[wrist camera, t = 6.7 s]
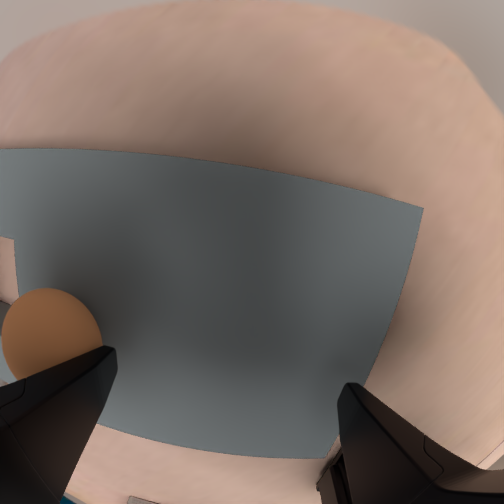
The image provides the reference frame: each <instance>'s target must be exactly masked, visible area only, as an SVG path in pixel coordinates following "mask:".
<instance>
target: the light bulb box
mask: <svg viewBox="0 0 504 504" xmlns="http://www.w3.org/2000/svg"><path fill="white" fill-rule="evenodd" d="M127 504H157V503H153V502H149V501H146V500H142V499H139V498H136V497H133V496H130V497H129V500H128V503H127Z"/></svg>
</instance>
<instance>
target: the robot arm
mask: <svg viewBox="0 0 504 504" xmlns="http://www.w3.org/2000/svg"><path fill="white" fill-rule="evenodd" d="M117 371H118V363H117V353H116V349H115V348H114V347H110V346H107V345H103V346H100V347H98V348H96V349H93V350H91V351H89V352H86V353H84V354H82V355H79V356H77V357H74V358H72V359H70V360H67V361H65V362H62V363H60V364H58V365H55V366H53V367H50V368H48V369H45V370H43V371H40V372H38V373H36V374H33V375H31V376H28V377H27V378H23V379H20V380H18V381H15V382H13V383H10V384H7V385H4V386H1V387H0V504H60V502H59V501H61V499H62V496H63V494H64V492H65V489H66V487H67V485H68V483H69V480H70V478H71V476H72V474H73V471H74V469H75V467H76V465H77V463H78V461H79V458H80V456H81V454H82V452H83V450H84V448H85V446H86V444H87V442H88V440H89V437H90V435H91V433H92V431H93V429H94V427H95V425H96V423H97V421H98V419H99V417H100V415H101V413H102V411H103V409H104V407H105V404H106V402H107V399H108V396H109V393H110V391H111V388H112V385H113V383H114V380H115V377H116V375H117ZM337 412H338V422H339V433H340V442H341V447H342V448H341V450H340V452H339V453H338V455H337V456H336V458H335V459H334V461H333V462H332V464H331V465H330V467H329V468H328V469H327V471H326V472H325V474H324V475H323V477H322V478H321V479H320V481H319V482H318V484H317V485H316V489H317V491H319V492H320V495H321V500H322V504H504V469H503V470H493V471H492V470H484V469H480V468H478V467H476V466H474V465H472V464H471V463H469V462H467V461H465V460H464V459H462V458H460V457H458V456H457V455H455V454H453V453H452V452H450V451H448V450H447V449H445V448H443V447H442V446H440V445H439V444H438V443H436V442H435V441H433V440H432V439H430V438H429V437H428V436H426V435H424V433H422V432H421V431H420V430H418V429H417V428H416V427H414V426H413V425H412V424H410V423H409V422H408V421H406V420H405V419H404V418H402V417H401V416H400V415H398V414H397V413H396V412H394V411H393V410H392V409H391V408H389V407H388V406H387V405H385V404H384V403H383V402H381V401H380V400H379V399H378V398H376V397H375V396H374V395H373V394H371V393H370V392H369V391H367V390H366V389H365V388H364V387H362V386H361V385H360V384H358V383H356V382H347V383H345V385H344V387H343V389H342V391H341V393H340V396H339V398H338V401H337Z"/></svg>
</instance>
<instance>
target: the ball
mask: <svg viewBox="0 0 504 504" xmlns="http://www.w3.org/2000/svg"><path fill="white" fill-rule="evenodd" d="M1 342H2V350H3V354H4V357H5V360H6V363H7V365H8V367H9V369H10V371H11V372H12V374H13V375H14V377H15V378H16V379H17V380H20V379H23V378H27V377H28V376H31V375H33V374H36V373H38V372H40V371H43V370H45V369H48V368H50V367H53V366H55V365H58V364H60V363H62V362H65V361H67V360H70V359H72V358H74V357H77V356H79V355H82V354H84V353H86V352H89V351H91V350H93V349H96V348H98V347H100V346H103V343H102V337H101V333H100V330H99V327H98V325H97V322H96V320H95V319H94V317H93V315H92V314H91V312H90V311H89V310H88V308H87V307H86V306H85V305H84V304H83V303H82V302H81V301H80V300H78V299H77V298H75V297H74V296H72V295H71V294H69V293H67V292H64V291H62V290H58V289H52V288H40V289H35V290H32V291H29V292H27V293H25V294H24V295H22V296H21V297H19V298H18V299H17V300H16V301H15V302H14V303H13V304H12V306H11V307H10V309H9V310H8V312H7V314H6V316H5V319H4V322H3V326H2V334H1Z"/></svg>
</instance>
